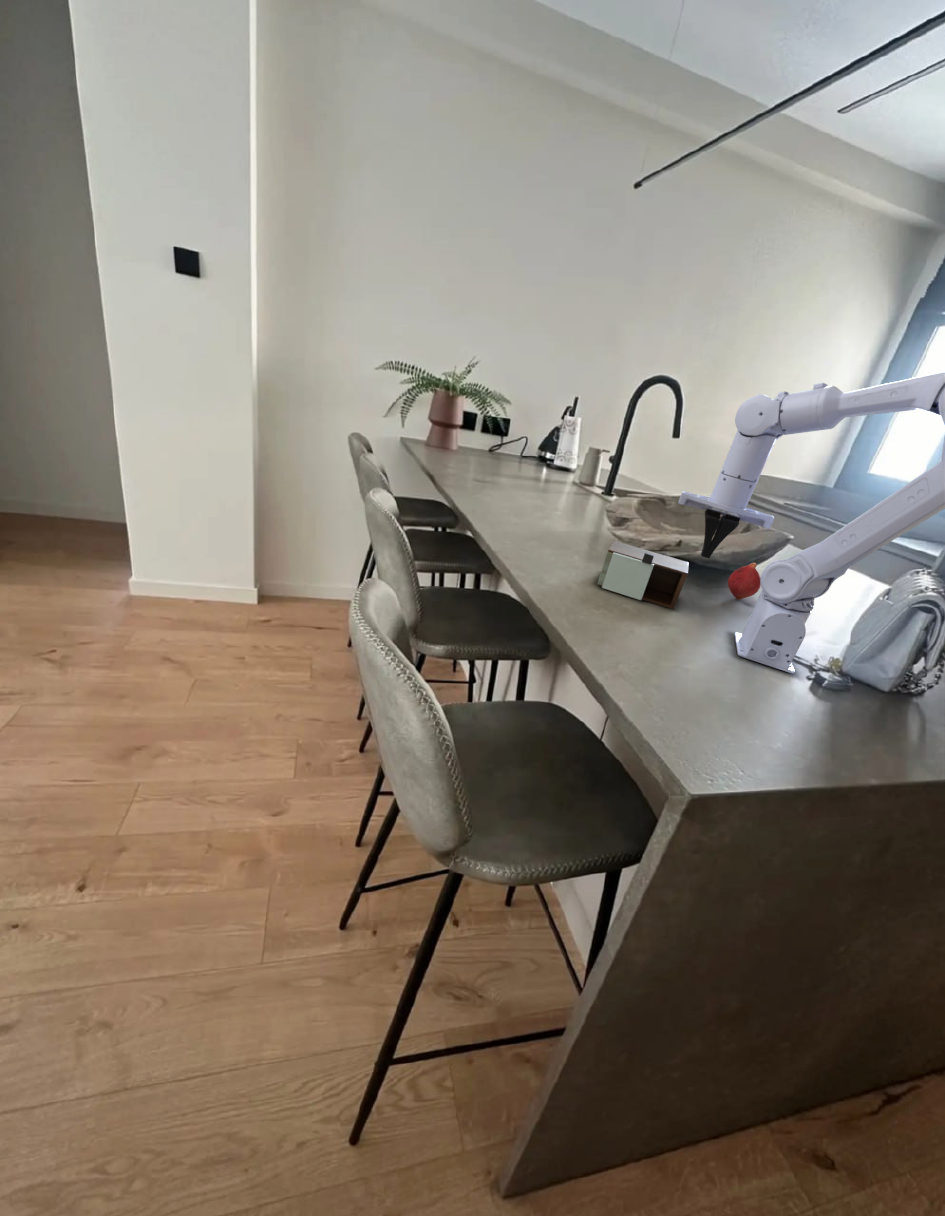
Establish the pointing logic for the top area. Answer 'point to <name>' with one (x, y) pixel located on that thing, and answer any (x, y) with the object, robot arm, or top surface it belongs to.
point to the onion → (744, 581)
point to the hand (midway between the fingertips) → (705, 556)
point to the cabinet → (654, 574)
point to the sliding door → (628, 575)
